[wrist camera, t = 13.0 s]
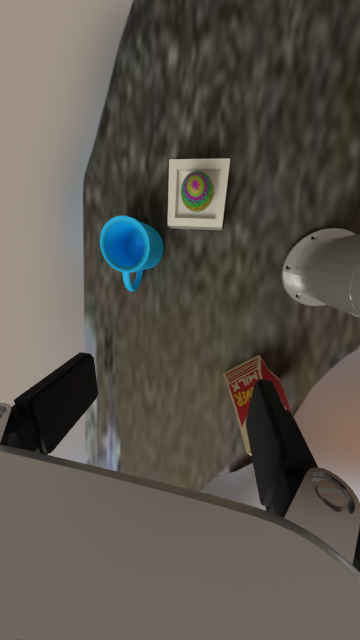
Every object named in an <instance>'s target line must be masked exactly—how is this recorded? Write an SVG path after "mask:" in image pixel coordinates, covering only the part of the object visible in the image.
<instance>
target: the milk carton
mask: <svg viewBox="0 0 360 640" xmlns="http://www.w3.org/2000/svg"><path fill="white" fill-rule="evenodd" d="M223 377H224V379H225V382H226V384H227V387H228V390H229V393H230V396H231V399H232V402H233V405H234V408H235V412H236V415H237V418H238V422H239V426H240V429H241V433H242V437H243V440H244V444H245V448H246V451H247V453H248V454H250V455H251V450H250V445H249V439H248V434H247V429H246V418H247V414H248V410H249V405H250V401H251V397H252V392H253V388H254V384H255V381H259V379H264V380H271V381H272V382H273V384H274V386H275V389H276V391H277V393H278V395H279V397H280V399H281V402H282V404H283V406H284V408H285V410H289V411H290V412H291V414H292V411H291V408H290V405H289V402H288V399H287V396H286V393H285V391H284V389H283V386H282V384H281V381H280V379H279V378H278V377H277V376H275V375H274V374H273V373H272V372H271V371H270V370H269V369H268V368H267V366H266V364H265V363H264V361H263V360H262V358H261V356H260V355H257V356H255V357H253V358H251V359H249V360H247V361H245V362H243V363H241V364H239V365H238V366H236V367H234V368H232V369H230V370H228V371H227V372H225V373H223ZM292 415H293V414H292ZM293 417H294V416H293Z"/></svg>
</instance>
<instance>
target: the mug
mask: <svg viewBox="0 0 360 640" xmlns="http://www.w3.org/2000/svg"><path fill="white" fill-rule="evenodd" d="M100 247H101V251H102V254H103V256H104V258H105V260H106V261H107V262H108V264H109V265H110V266H112V267H113V268H114V269H116V270H118V271H121V272H123V280H124V284H125V287H126V288H127V289H128V290H129V291H135V290H136V289H137V288H138V287H139V285H140V282H141V279H142V275H143V270H146V269H149V268H152V267H154V266H155V265H157V264H158V263H159V261H160V260H161V258H162V255H163V241H162V238H161V236H160V235H159V233H158V232H157V231H156V230H155V229H154V228H152V227H151V226H149V225H147V224H145V223H143V222H140V221H138V220H136V219H134V218H131V217H128V216H116V217H114V218H112V219H110V220H109V221H108V222H107V223H106V224H105V225H104V227H103V230H102V232H101V236H100ZM136 271H137V274H136V278H135V281H134V283H133V285H131V281H130V272H136Z"/></svg>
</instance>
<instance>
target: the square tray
mask: <svg viewBox="0 0 360 640" xmlns="http://www.w3.org/2000/svg"><path fill="white" fill-rule="evenodd" d="M229 165H230V158H225V159H169V191H168V226H169V227H170V228H177V229H203V230H222V224H223V216H224V207H225V199H226V190H227V182H228V174H229ZM193 171H202V172H204V173H206V174H207V175H208V176H209V177H210V179H211V180H212V183H213V187H214V195H213V199H212V201H211V203H210V205H209V206H208V207H207V208H206V209H204V210H203V211H200V212H193V211H191V210H189V209H188V208H187V207H186V206H185V205H184V203H183V201H182V198H181V186H182V183H183V181H184V179H185V177H186V176H187V175H188V174H189V173H191V172H193Z"/></svg>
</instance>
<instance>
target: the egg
mask: <svg viewBox="0 0 360 640" xmlns="http://www.w3.org/2000/svg"><path fill="white" fill-rule="evenodd" d="M213 195H214V187H213V183H212V180H211V179H210V177H209V176H208V175H207V174H206V173H204V172H202V171H193V172H191V173H189V174H188V175H187V176H186V177H185V179H184V181H183V183H182V186H181V198H182V201H183V203H184V205H185V206H186V207H187V208H188V209H189V210H191V211H193V212H200V211H203V210H204V209H206V208H207V207H208V206H209V205H210V203H211V201H212V199H213Z"/></svg>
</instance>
